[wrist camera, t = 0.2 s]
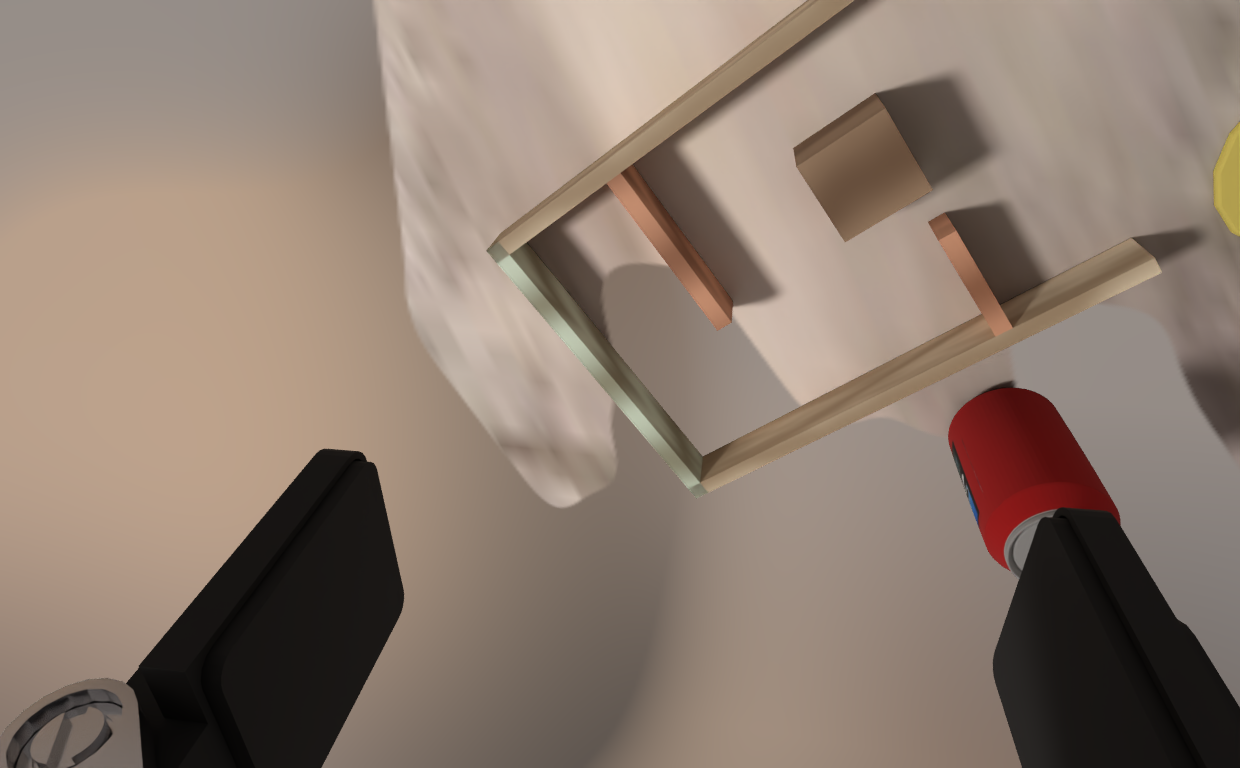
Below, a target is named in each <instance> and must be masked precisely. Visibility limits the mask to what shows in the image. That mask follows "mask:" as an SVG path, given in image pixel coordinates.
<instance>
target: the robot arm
mask: <svg viewBox="0 0 1240 768" xmlns="http://www.w3.org/2000/svg"><path fill="white" fill-rule="evenodd" d="M403 602H404V590H403V585H402V581H401V576H400V572H399V567H398V562H397V558H396V553H395V549H394V544H393V540H392V536H391V531H390V526H389V522H388V517H387V513H386V508H385V504H384V499H383V495H382V490H381V485H380V481H379V477H378V472H377V468H376V466H375V465H374V463H372V462H367V460H366V457H365V456H364V455H363V453H361V452H359V451H347V450H335V449H322V450H320V451H319V452H318V453H316V455H315V456H314V457H313V458H312V459H311V460H310V462H309V463H308V464H307V465H306V466H305V468H304V469H303V470H302V471H301V472H300V474H299V475H298V476H297V477H296V478H295V479H294V481H293V482H292V483H291V484H290V485H289V487H288V488H287V489H286V490H285V492H284V493H283V494H282V495H281V496H280V498H279V499H278V500H277V501H276V502H275V504H274V505H273V506H272V507H271V508H270V509H269V511H268V512H267V513H266V514H265V516H264V517H263V518H262V519H261V520H260V522H259V523H258V524H257V525H256V526H255V527H254V529H253V530H252V531H251V532H250V533H249V535H248V536H247V537H246V538H245V539H244V541H243V542H242V543H241V544H240V546H239V547H238V548H237V549H236V550H235V551H234V553H233V554H232V555H231V556H230V557H229V559H228V560H227V561H226V562H225V563H224V564H223V566H222V567H221V568H220V569H219V570H218V572H217V573H216V574H215V575H214V576H213V578H212V579H211V580H210V581H209V583H208V584H207V585H206V586H205V587H204V589H203V590H202V591H201V592H200V593H199V594H198V596H197V597H196V598H195V599H194V600H193V602H192V603H191V604H190V605H189V606H188V608H187V609H186V610H185V611H184V612H183V614H182V615H181V616H180V617H179V618H178V620H177V621H176V622H175V623H174V624H173V626H172V627H171V628H170V629H169V631H168V632H167V633H166V634H165V635H164V636H163V638H162V639H161V640H160V641H159V642H158V644H157V645H156V646H155V647H154V648H153V650H152V651H151V652H150V653H149V654H148V655H147V657H146V658H145V659H144V660H143V661H142V663H141V664H140V665H139V668H138V670H137V671H136V672H135V673H134V674H133V676H132V677H131V678H130V679H129V680H128V682H127V683H126V684H125V683H124V682H123V681H118V680H114V679H109V678H101V679H88V680H85V681H81V682H77V683H74V684H70V685H67V686H65V687H63V688H61V689H59V690H56V691H54V692H52V693H50V694H48V695H46V696H44V697H43V698H41V699H40V700H38V701H37V702H35V703H34V704H33V705H31V706H30V707H28V708H27V709H25V710H24V711H23V712H22V713H21V714H20V715H19V716H18V717H17V718H16V719H15V720H14V721H12V722H11V724H9V725H8V726H7V727H6V729H5V730H4V732H3V733H2V735H1V736H0V768H321V767H322V765H323V763H324V762H325V760H326V758H327V756H328V754H329V752H330V750H331V748H332V746H333V744H334V742H335V740H336V738H337V736H338V734H339V733H340V731H341V729H342V727H343V725H344V723H345V721H346V719H347V717H348V715H349V713H350V711H351V709H352V707H353V705H354V704H355V702H356V700H357V698H358V696H359V694H360V692H361V690H362V688H363V686H364V684H365V682H366V680H367V678H368V676H369V675H370V673H371V671H372V669H373V667H374V665H375V663H376V661H377V659H378V657H379V655H380V653H381V651H382V649H383V647H384V646H385V644H386V642H387V640H388V638H389V636H390V634H391V632H392V630H393V628H394V626H395V624H396V622H397V620H398V618H399V616H400V614H401V611H402V608H403ZM993 673H994V679H995V683H996V686H997V690H998V693H999V696H1000V699H1001V702H1002V705H1003V708H1004V711H1005V715H1006V718H1007V721H1008V724H1009V727H1010V731H1011V734H1012V737H1013V740H1014V743H1015V746H1016V750H1017V753H1018V756H1019V759H1020V762H1021V765H1022V768H1240V707H1239V706H1238V704H1237V702H1236V701H1235V699H1234V698H1233V696H1232V694H1231V693H1230V691H1229V689H1228V688H1227V686H1226V685H1225V683H1224V681H1223V680H1222V678H1221V677H1220V675H1219V673H1218V672H1217V670H1216V668H1215V667H1214V665H1213V664H1212V662H1211V660H1210V659H1209V657H1208V656H1207V654H1206V652H1205V651H1204V649H1203V648H1202V646H1201V644H1200V643H1199V641H1198V639H1197V638H1196V636H1195V635H1194V634H1193V633H1192V631H1191V630H1190V629H1189V628H1188V626H1187V625H1186V624H1184V623H1182V622H1181V621H1179V620H1178V619H1177V618H1176V617H1175V615H1174V613H1173V612H1172V610H1171V608H1170V607H1169V605H1168V604H1167V602H1166V600H1165V599H1164V597H1163V595H1162V594H1161V592H1160V591H1159V589H1158V587H1157V585H1156V584H1155V582H1154V581H1153V579H1152V578H1151V576H1150V574H1149V572H1148V571H1147V569H1146V567H1145V566H1144V564H1143V563H1142V561H1141V559H1140V557H1139V556H1138V554H1137V553H1136V551H1135V549H1134V548H1133V546H1132V544H1131V543H1130V541H1129V539H1128V538H1127V536H1126V534H1125V533H1124V531H1123V530H1122V528H1121V526H1120V525H1119V523H1118V521H1117V520H1116V518H1115V517H1114V516H1113V515H1112V513H1110V512H1108V511H1104V510H1091V509H1078V508H1066V507H1062V508H1058V509H1057V510H1056V511H1055V513H1054V515H1053V517H1043V518H1042V519H1041V520H1040V521H1039V523H1038V525H1037V528H1036V531H1035V534H1034V537H1033V540H1032V543H1031V546H1030V549H1029V552H1028V555H1027V558H1026V561H1025V564H1024V567H1023V570H1022V573H1021V575H1020V578H1019V581H1018V584H1017V587H1016V590H1015V593H1014V596H1013V599H1012V602H1011V605H1010V608H1009V611H1008V614H1007V617H1006V620H1005V623H1004V626H1003V629H1002V632H1001V635H1000V638H999V641H998V644H997V647H996V649H995V653H994V658H993Z"/></svg>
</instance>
